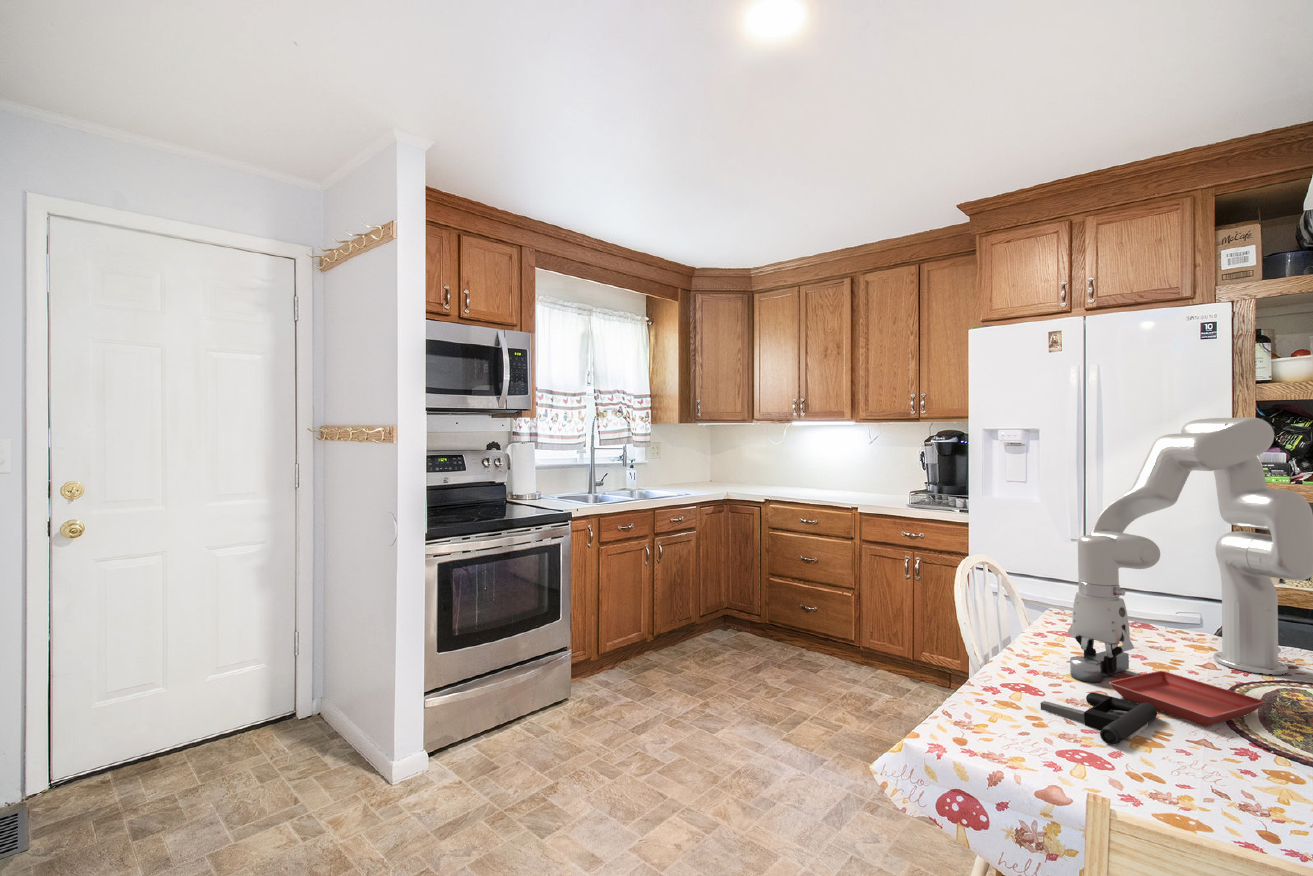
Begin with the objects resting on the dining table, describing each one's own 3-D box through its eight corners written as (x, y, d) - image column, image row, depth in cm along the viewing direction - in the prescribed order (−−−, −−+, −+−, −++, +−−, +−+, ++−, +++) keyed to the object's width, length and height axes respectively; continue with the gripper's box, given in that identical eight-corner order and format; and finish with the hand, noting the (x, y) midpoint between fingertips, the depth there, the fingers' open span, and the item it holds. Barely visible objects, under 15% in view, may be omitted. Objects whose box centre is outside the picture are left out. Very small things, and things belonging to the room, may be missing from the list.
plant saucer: (1107, 696, 128) (1106, 680, 128) (1161, 684, 134) (1161, 669, 134) (1211, 735, 111) (1210, 717, 111) (1267, 718, 117) (1267, 701, 117)
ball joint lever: (1107, 662, 145) (1107, 647, 145) (1134, 670, 140) (1133, 655, 140) (1064, 674, 138) (1064, 659, 138) (1091, 683, 133) (1090, 667, 133)
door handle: (1025, 706, 118) (1125, 733, 104) (1071, 683, 129) (1166, 705, 116) (1027, 723, 117) (1126, 753, 104) (1072, 699, 129) (1167, 723, 115)
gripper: (1149, 596, 133) (1151, 680, 133) (1071, 581, 148) (1072, 656, 148) (1129, 600, 130) (1131, 686, 130) (1051, 584, 145) (1053, 661, 145)
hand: (1100, 669), depth 139 cm, fingers closed on ball joint lever, 3 cm apart
